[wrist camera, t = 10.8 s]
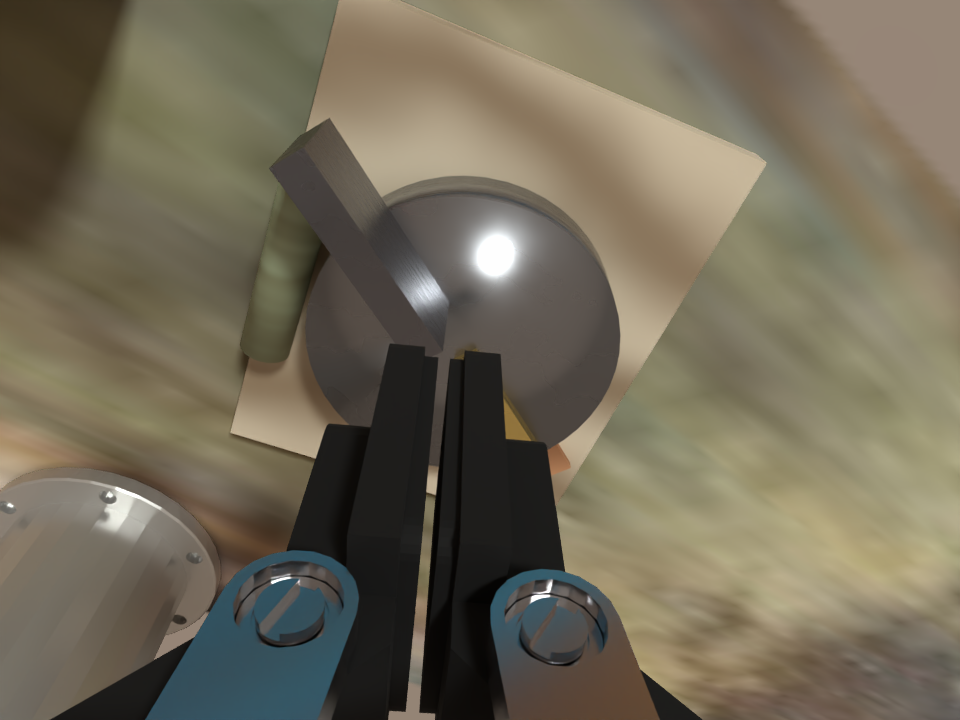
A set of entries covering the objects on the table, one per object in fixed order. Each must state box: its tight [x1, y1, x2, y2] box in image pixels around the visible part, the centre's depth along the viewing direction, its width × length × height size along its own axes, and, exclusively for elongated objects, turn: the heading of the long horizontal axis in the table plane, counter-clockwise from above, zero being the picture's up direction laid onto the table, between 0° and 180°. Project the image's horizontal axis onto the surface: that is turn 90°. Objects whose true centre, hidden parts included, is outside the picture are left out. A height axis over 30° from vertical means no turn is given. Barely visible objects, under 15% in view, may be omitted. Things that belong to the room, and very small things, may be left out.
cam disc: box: [269, 118, 621, 467], centre depth 26 cm, size 14×12×6 cm
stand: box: [230, 0, 767, 505], centre depth 29 cm, size 20×16×3 cm
